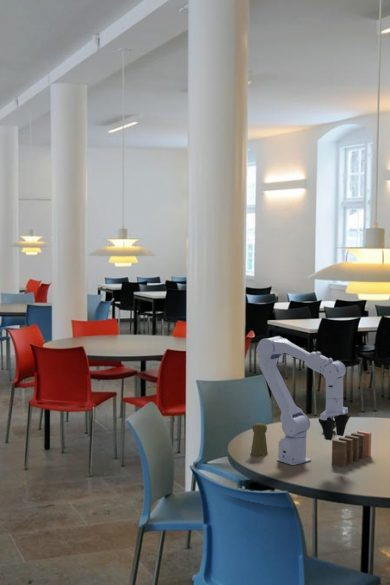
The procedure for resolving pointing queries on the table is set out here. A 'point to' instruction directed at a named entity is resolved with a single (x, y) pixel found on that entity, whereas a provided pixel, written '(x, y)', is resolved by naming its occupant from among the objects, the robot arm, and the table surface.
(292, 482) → the table surface
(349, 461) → the tile
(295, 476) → the table surface
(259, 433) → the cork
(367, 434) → the tile
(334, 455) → the tile
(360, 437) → the tile
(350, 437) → the tile
